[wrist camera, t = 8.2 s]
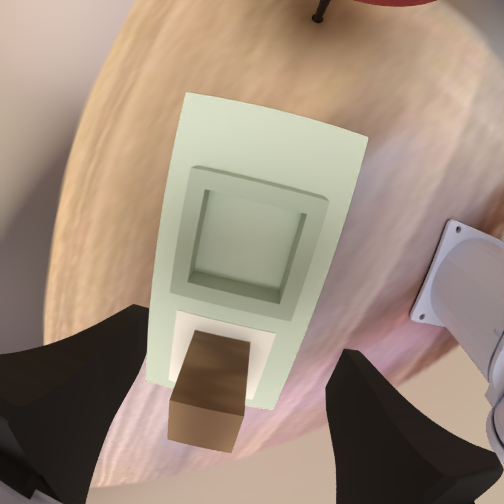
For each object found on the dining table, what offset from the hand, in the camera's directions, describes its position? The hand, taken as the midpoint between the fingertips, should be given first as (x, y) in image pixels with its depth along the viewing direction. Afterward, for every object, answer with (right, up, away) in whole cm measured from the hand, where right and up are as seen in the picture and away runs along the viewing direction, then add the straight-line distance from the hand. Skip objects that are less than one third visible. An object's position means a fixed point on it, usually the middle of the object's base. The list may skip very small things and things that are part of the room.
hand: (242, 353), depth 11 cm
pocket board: (-1, +2, +10) cm, 10 cm away
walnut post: (-2, -4, +11) cm, 12 cm away
